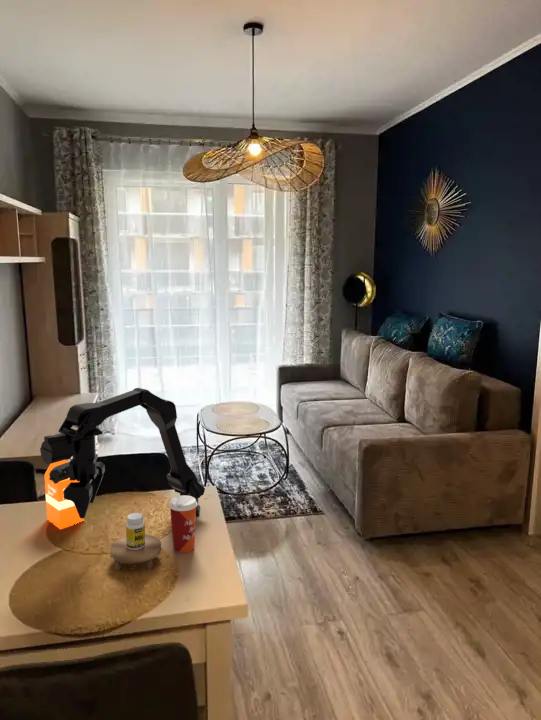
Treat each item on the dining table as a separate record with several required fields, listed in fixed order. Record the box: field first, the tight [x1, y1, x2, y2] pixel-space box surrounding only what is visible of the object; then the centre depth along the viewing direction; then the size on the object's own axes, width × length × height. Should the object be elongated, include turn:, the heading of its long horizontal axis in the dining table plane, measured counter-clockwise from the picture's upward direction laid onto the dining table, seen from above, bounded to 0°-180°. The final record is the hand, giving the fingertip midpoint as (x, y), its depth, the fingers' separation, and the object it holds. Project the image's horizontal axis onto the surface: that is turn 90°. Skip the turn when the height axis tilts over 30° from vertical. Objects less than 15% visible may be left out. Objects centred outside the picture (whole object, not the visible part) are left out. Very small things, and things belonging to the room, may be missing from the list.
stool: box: [109, 533, 162, 571], centre depth 146 cm, size 13×13×4 cm
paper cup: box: [168, 495, 199, 554], centre depth 151 cm, size 8×8×14 cm
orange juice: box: [44, 459, 85, 530], centre depth 166 cm, size 8×9×20 cm
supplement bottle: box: [125, 512, 146, 550], centre depth 145 cm, size 5×5×8 cm
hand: (86, 510), depth 146 cm, fingers open, 9 cm apart
